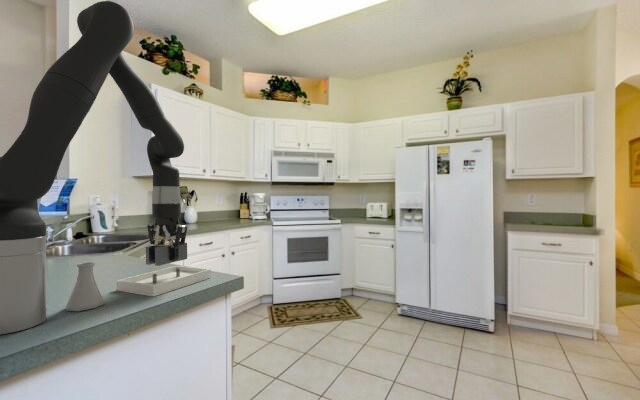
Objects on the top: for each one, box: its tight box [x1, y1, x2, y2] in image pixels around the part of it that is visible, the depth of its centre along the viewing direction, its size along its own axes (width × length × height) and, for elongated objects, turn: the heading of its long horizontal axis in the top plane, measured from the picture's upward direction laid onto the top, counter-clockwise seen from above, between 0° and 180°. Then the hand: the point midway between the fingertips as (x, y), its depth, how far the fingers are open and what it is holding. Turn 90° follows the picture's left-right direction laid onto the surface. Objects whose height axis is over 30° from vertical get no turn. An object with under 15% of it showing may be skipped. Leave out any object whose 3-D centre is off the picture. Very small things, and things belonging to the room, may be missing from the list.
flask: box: [65, 261, 106, 312], centre depth 69 cm, size 7×7×10 cm
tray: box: [115, 265, 211, 297], centre depth 88 cm, size 20×14×4 cm
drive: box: [145, 241, 188, 267], centre depth 88 cm, size 10×5×5 cm, turn 157°
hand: (167, 259), depth 88 cm, fingers closed on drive, 5 cm apart
